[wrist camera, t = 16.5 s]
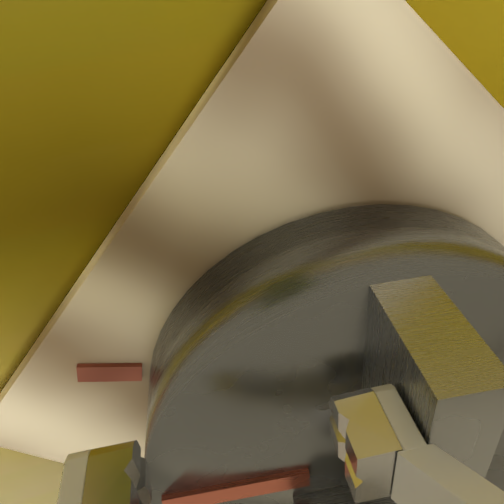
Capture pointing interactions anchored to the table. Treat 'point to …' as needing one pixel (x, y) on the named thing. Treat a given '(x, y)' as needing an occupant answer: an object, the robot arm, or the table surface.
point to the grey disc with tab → (327, 354)
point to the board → (259, 195)
